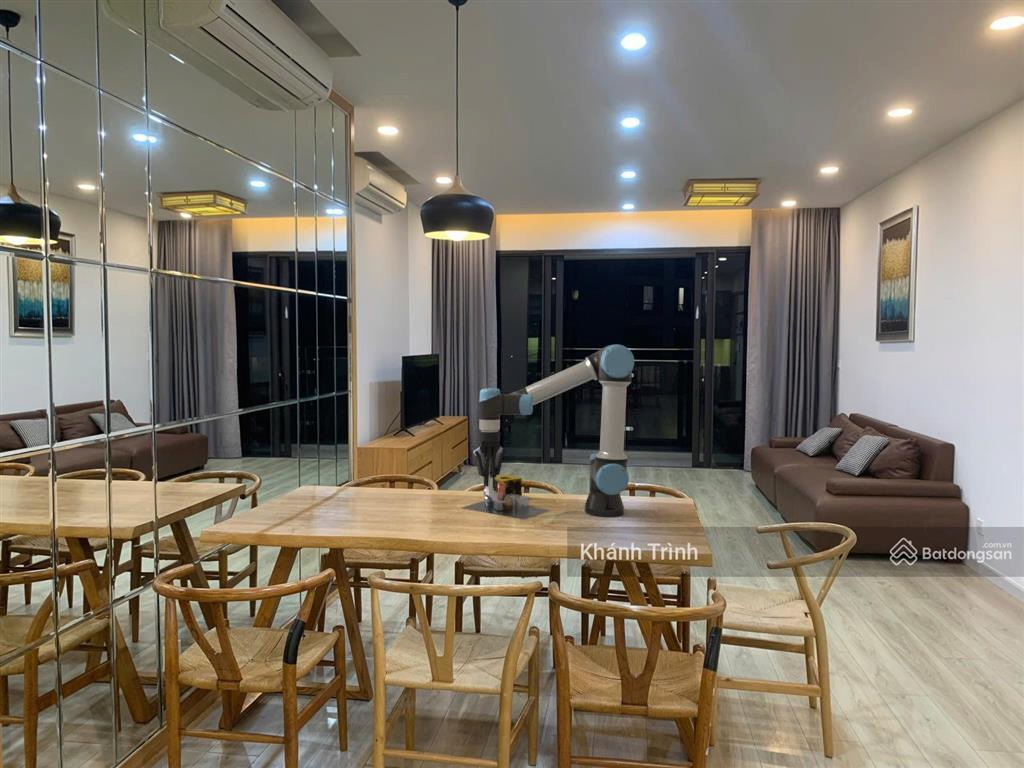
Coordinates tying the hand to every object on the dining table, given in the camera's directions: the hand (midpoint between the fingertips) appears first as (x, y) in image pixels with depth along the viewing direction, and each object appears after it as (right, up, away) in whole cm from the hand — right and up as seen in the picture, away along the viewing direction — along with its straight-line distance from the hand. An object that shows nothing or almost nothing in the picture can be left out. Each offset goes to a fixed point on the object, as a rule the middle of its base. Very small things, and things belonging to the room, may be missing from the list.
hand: (489, 494), depth 244 cm
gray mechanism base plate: (+6, -9, +12) cm, 16 cm away
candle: (+6, -8, +32) cm, 34 cm away
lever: (+2, -7, +9) cm, 12 cm away
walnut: (+7, -7, +12) cm, 16 cm away
